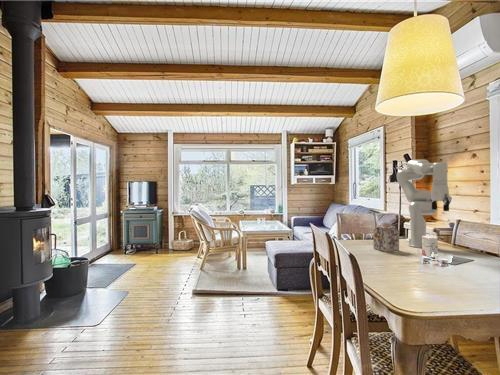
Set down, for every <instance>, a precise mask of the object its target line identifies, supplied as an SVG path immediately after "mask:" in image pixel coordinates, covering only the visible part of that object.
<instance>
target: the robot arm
mask: <svg viewBox="0 0 500 375" xmlns="http://www.w3.org/2000/svg"><path fill="white" fill-rule="evenodd" d="M428 175H429V176H430V175H432V185H431V190H430V191H429V190H426V189H417V188H416V185H415V184H414V183H413V182H412V181H419V180H420V181H421V180H422V179H423V178H424V176H428ZM396 180H397V183H398V185H399V186H400V188H401V189H402V191H403V193H404V196H405V198H406V200H407V202H408V203H409V205H408V212H409V217H410V238H406V240H405V241H406V242H408V245H407V246H408V247H412V248H417V249H420V248H421V249H422V236H427V220H426V219H425V218H424V216H434V215H436V214H437V212H438V203H437V202H442V203H443V206H442V207H443V209H442V210H443V212H449V211H450V205H451V202H452V199H453V197H452V196H451V195H450V191H449V186H448V163H447V162H445V161H444V162H443V161H442V162H440V161H439V162H429V160H428V159H411V160H409V161H407V163H406V169H405V168H404V169H399V170H398V171H397V172H396Z"/></svg>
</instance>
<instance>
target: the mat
mask: <svg viewBox="0 0 500 375" xmlns="http://www.w3.org/2000/svg"><path fill="white" fill-rule="evenodd" d="M452 256H453V258H452V262H451V263H450V264H449V265H451V266H456V265H460V264H465V263H469V262H474V261H475V259H471V258H466V257H462V256H455V255H452Z"/></svg>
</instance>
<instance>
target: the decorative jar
mask: <svg viewBox="0 0 500 375" xmlns="http://www.w3.org/2000/svg"><path fill="white" fill-rule="evenodd" d="M390 224H391V223H389V222H382V223H381V225H376V226H375V227H374V228H373V232H372V234H373V238H372V239H373V240H372V241H373V242H372V243H373V249H374V250H376V251H381V252H385V253H391V252H397V251H400V230H399V229H398V228H397V227H396V226H394V225H390Z"/></svg>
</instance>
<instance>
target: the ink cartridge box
mask: <svg viewBox="0 0 500 375" xmlns="http://www.w3.org/2000/svg"><path fill="white" fill-rule="evenodd" d="M428 234H429V235H426V236H422V248H421V254H422V255H423V256H425V257H428V256H431V254H432V252H434V254H438V253H439V252H438V250H439V248H438V243H439V242H438V233H437V232H434V231H430V230H429V231H428ZM438 255H439V254H438Z"/></svg>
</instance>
